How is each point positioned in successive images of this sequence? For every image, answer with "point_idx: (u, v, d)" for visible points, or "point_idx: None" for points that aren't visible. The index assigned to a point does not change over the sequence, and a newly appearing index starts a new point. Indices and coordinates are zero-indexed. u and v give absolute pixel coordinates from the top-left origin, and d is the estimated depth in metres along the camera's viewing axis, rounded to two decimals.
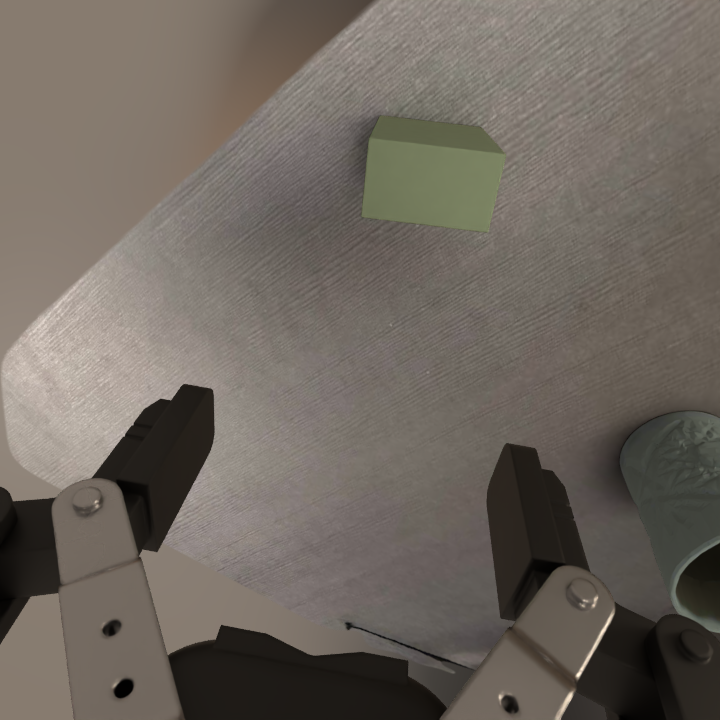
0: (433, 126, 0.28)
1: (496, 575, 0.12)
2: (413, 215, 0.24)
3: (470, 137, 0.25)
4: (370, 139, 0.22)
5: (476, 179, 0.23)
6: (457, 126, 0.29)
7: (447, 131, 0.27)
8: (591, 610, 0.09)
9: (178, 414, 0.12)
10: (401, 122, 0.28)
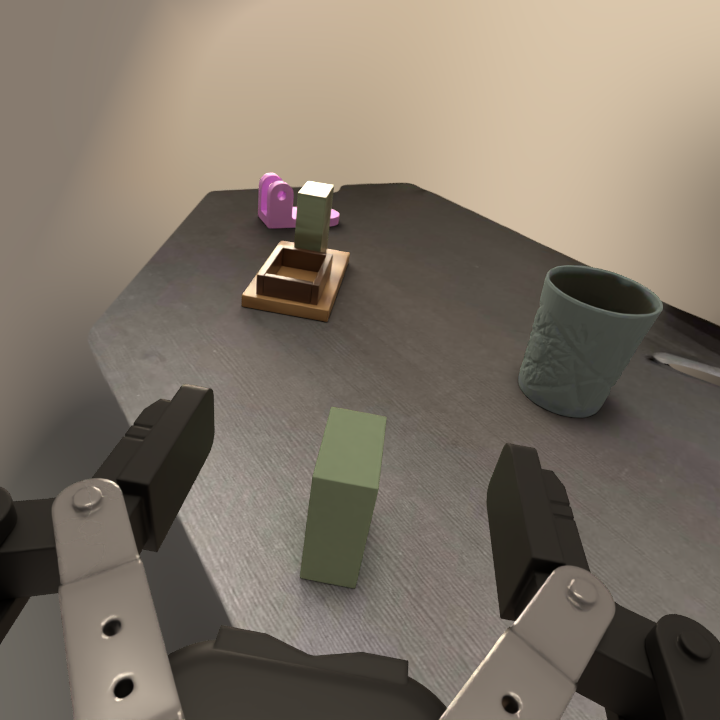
0: None
1: (496, 575, 0.12)
2: (375, 455, 0.28)
3: None
4: (313, 476, 0.27)
5: (348, 420, 0.31)
6: None
7: None
8: (591, 610, 0.09)
9: (178, 414, 0.12)
10: None
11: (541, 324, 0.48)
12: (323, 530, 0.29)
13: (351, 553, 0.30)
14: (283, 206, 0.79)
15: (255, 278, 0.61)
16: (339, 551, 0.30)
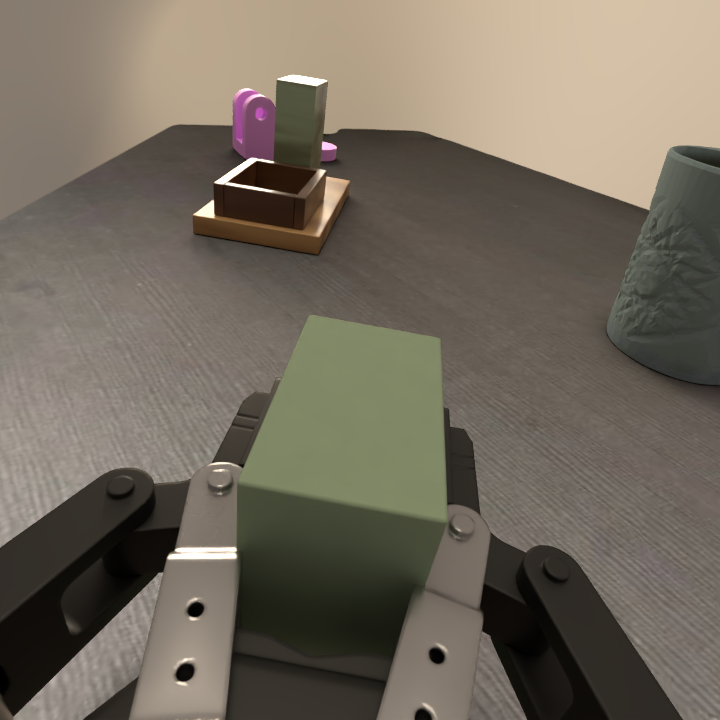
0: None
1: None
2: (425, 420, 0.10)
3: None
4: (241, 480, 0.08)
5: (348, 342, 0.12)
6: None
7: None
8: (466, 540, 0.10)
9: None
10: None
11: (661, 232, 0.29)
12: (282, 629, 0.10)
13: None
14: (263, 129, 0.61)
15: None
16: None
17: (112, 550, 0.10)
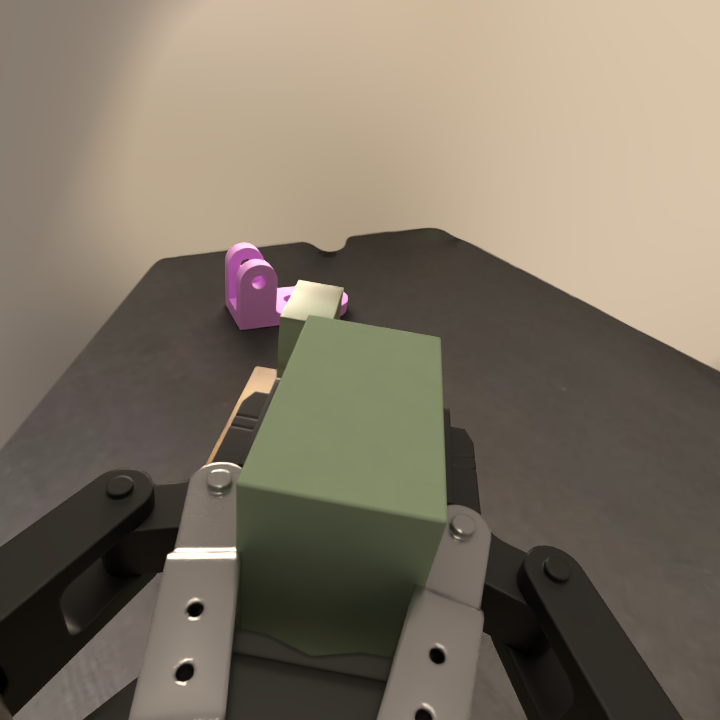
0: None
1: None
2: (425, 420, 0.10)
3: None
4: (240, 480, 0.08)
5: (348, 341, 0.12)
6: None
7: None
8: (467, 540, 0.10)
9: None
10: None
11: None
12: (282, 630, 0.10)
13: None
14: (262, 297, 0.51)
15: None
16: None
17: (111, 550, 0.10)
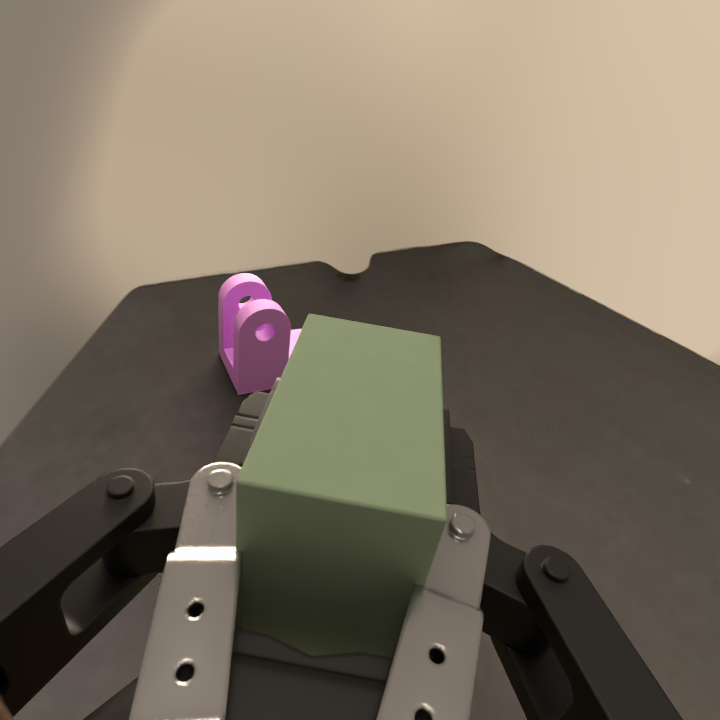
0: None
1: None
2: (424, 419, 0.10)
3: None
4: (240, 478, 0.08)
5: (348, 341, 0.12)
6: None
7: None
8: (466, 540, 0.10)
9: None
10: None
11: None
12: (281, 628, 0.10)
13: None
14: (269, 351, 0.36)
15: None
16: None
17: (112, 550, 0.10)
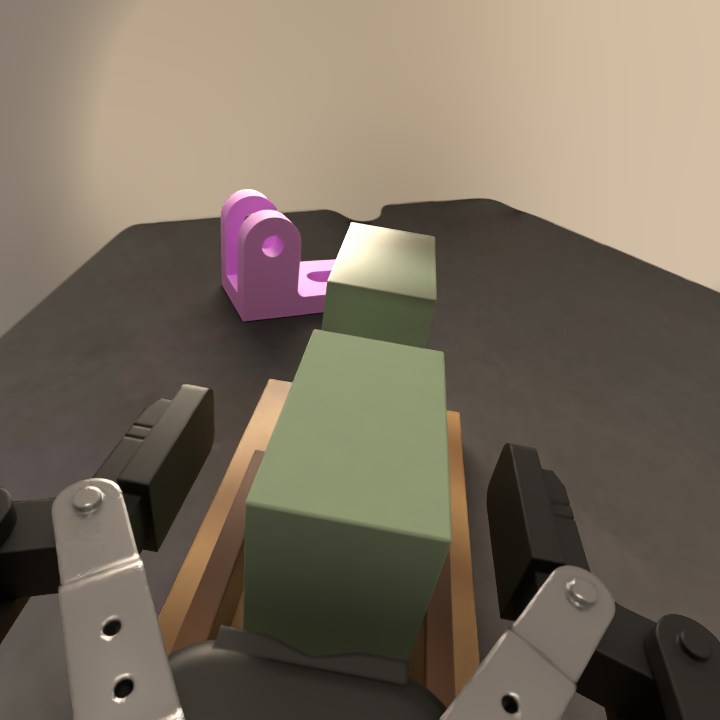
0: None
1: (496, 575, 0.12)
2: (429, 437, 0.10)
3: None
4: (249, 500, 0.09)
5: (353, 357, 0.13)
6: None
7: None
8: (591, 610, 0.09)
9: (178, 414, 0.12)
10: None
11: None
12: (288, 643, 0.11)
13: None
14: (277, 270, 0.33)
15: None
16: None
17: None
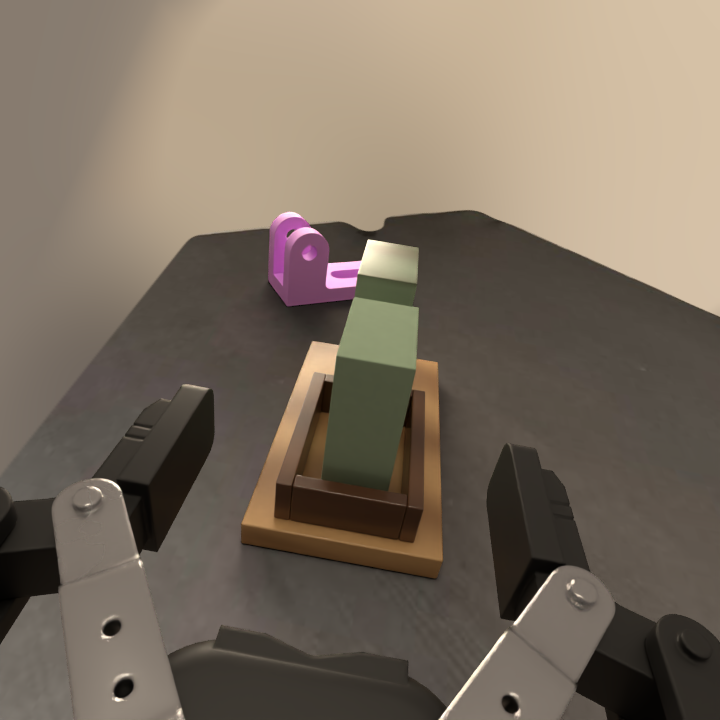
0: None
1: (496, 575, 0.12)
2: (409, 339, 0.24)
3: None
4: (338, 355, 0.22)
5: (374, 309, 0.26)
6: None
7: None
8: (591, 610, 0.09)
9: (178, 414, 0.12)
10: None
11: None
12: (347, 431, 0.24)
13: (380, 461, 0.25)
14: (312, 270, 0.46)
15: (270, 458, 0.29)
16: (366, 459, 0.25)
17: None
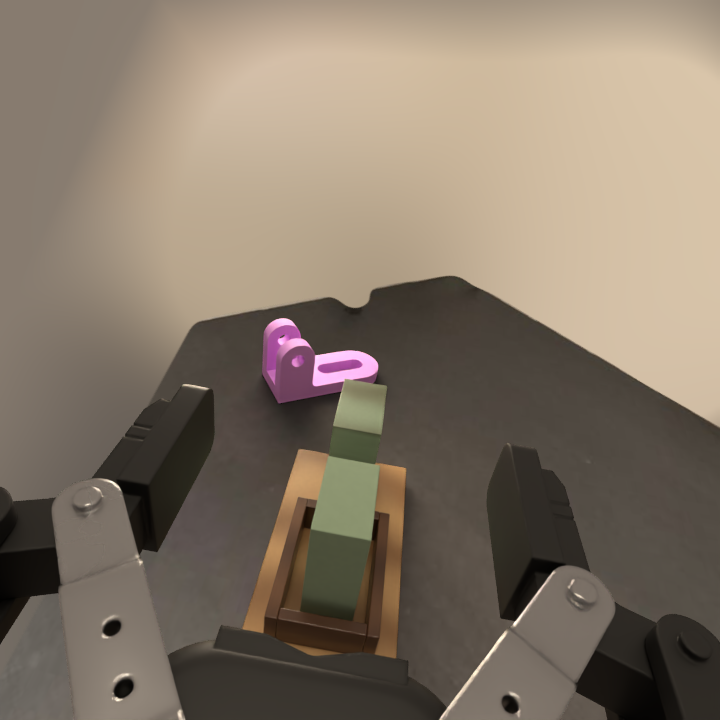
0: None
1: (496, 575, 0.12)
2: (368, 505, 0.31)
3: None
4: (311, 528, 0.29)
5: (343, 470, 0.33)
6: None
7: None
8: (591, 610, 0.09)
9: (178, 414, 0.12)
10: None
11: None
12: (320, 575, 0.31)
13: (346, 596, 0.32)
14: (300, 373, 0.53)
15: (261, 578, 0.36)
16: (336, 594, 0.32)
17: None
